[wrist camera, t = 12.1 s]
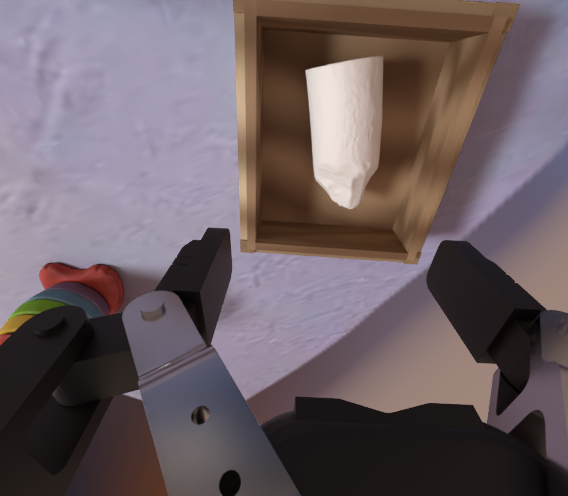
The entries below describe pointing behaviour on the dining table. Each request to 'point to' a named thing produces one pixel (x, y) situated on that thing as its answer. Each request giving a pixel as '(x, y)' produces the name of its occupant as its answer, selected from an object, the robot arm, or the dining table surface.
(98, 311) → the stacking bear
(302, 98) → the upper crate
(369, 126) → the roll
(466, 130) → the box
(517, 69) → the dining table surface
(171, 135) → the dining table surface
